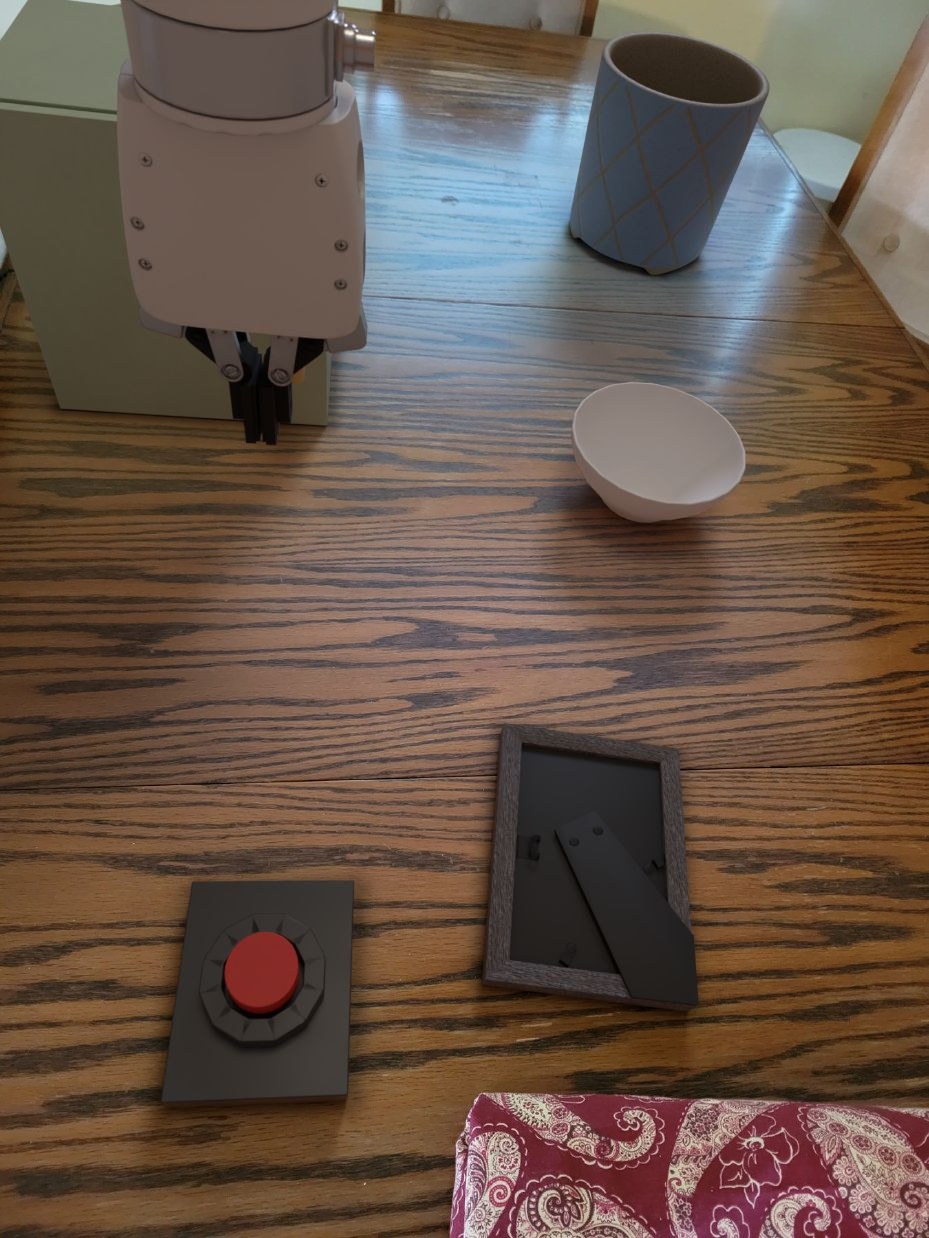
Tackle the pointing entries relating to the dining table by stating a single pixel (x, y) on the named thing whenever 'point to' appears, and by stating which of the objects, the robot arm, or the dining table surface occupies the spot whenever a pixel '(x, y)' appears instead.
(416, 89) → the dining table surface
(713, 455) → the bowl
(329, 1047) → the switch block
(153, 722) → the dining table surface
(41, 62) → the cabinet
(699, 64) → the planter
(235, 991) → the button
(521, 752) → the picture frame
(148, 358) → the cabinet door
